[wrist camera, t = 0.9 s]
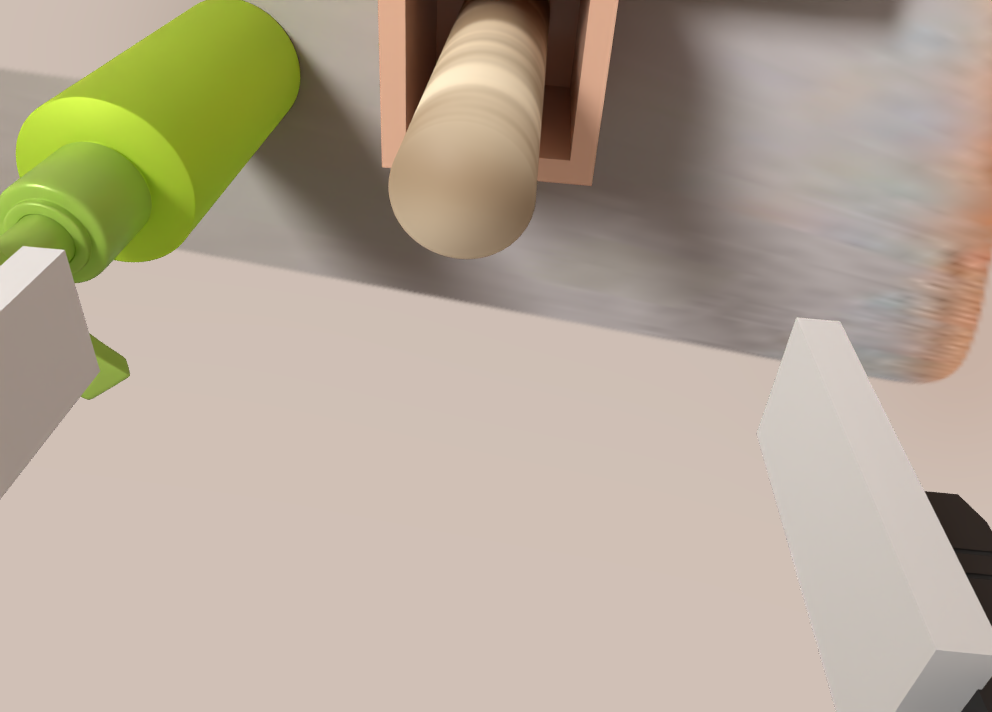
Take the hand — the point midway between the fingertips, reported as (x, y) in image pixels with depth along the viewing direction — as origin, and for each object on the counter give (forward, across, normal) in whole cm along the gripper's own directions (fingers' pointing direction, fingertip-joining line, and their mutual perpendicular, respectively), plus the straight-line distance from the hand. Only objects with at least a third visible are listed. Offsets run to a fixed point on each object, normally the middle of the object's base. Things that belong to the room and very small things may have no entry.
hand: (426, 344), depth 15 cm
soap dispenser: (+25, -12, -4) cm, 28 cm away
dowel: (+24, 0, 0) cm, 24 cm away
